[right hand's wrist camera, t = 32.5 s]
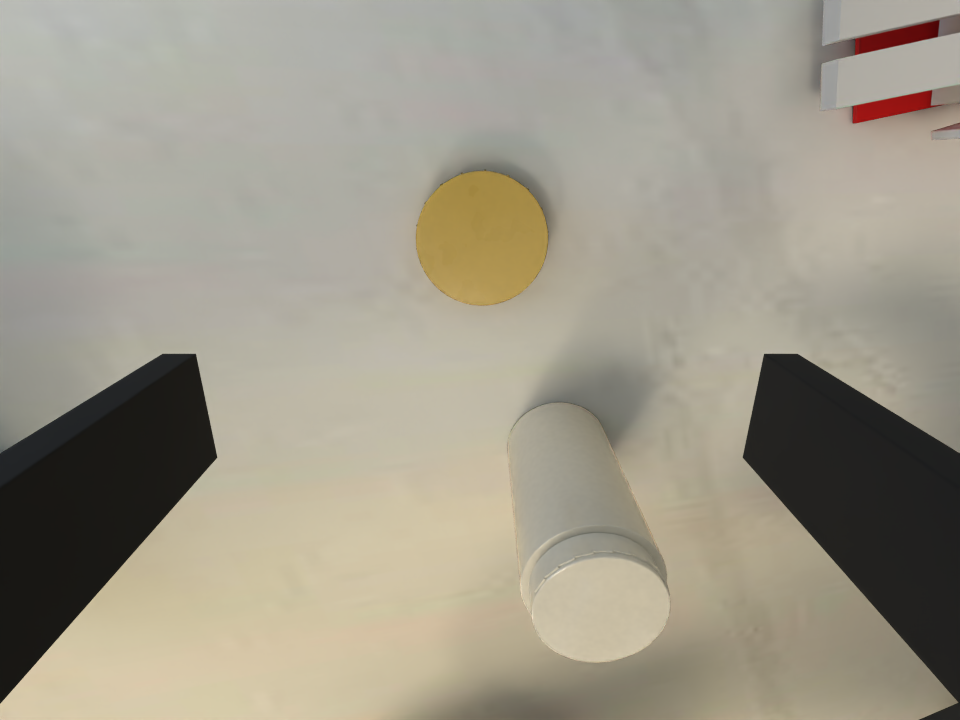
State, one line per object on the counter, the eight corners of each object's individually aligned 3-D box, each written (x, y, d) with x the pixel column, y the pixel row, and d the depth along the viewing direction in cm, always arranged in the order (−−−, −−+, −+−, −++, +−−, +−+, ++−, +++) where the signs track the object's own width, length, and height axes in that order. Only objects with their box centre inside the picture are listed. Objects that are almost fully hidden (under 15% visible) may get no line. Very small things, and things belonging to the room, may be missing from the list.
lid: (418, 296, 41) (415, 303, 39) (419, 166, 37) (415, 166, 35) (538, 301, 41) (542, 309, 39) (550, 172, 37) (554, 173, 35)
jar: (625, 428, 45) (711, 586, 28) (573, 502, 48) (623, 687, 31) (538, 385, 43) (574, 526, 27) (489, 465, 46) (495, 637, 29)
